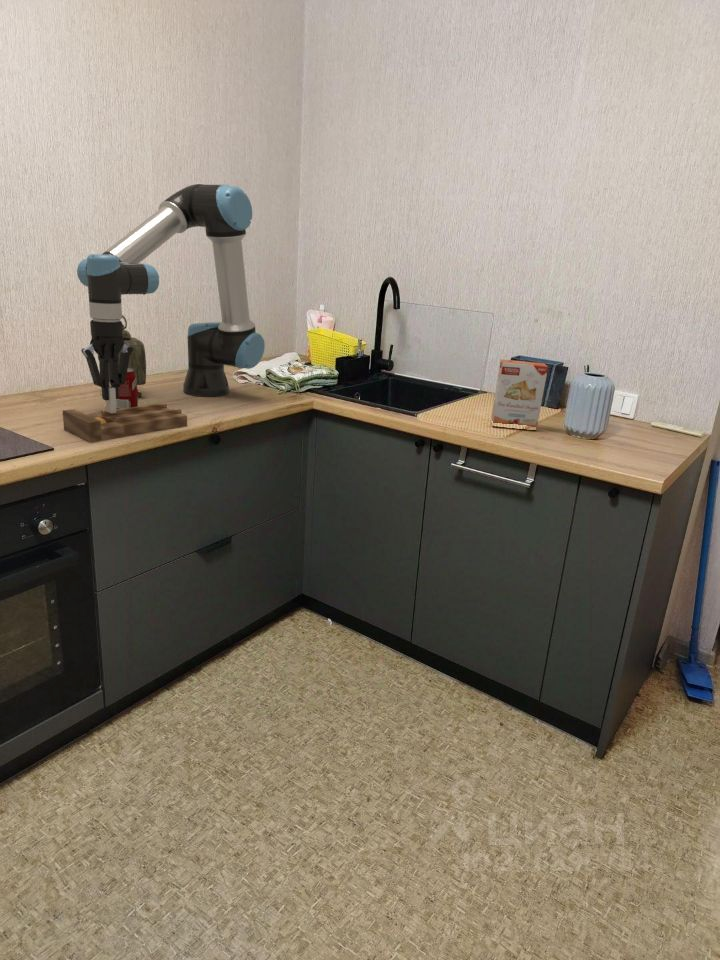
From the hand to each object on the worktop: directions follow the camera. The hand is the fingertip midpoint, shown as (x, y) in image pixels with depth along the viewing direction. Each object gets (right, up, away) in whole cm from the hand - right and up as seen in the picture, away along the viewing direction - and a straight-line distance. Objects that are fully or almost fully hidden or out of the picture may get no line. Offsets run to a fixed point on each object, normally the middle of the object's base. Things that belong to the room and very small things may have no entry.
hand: (111, 411), depth 170 cm
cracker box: (+114, -1, +37) cm, 120 cm away
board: (+3, -4, +5) cm, 7 cm away
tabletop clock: (-10, +9, +39) cm, 41 cm away
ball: (-3, -4, -2) cm, 5 cm away
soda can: (-4, +3, +22) cm, 22 cm away
